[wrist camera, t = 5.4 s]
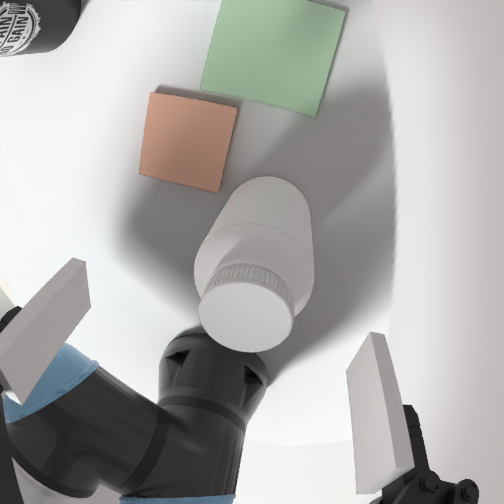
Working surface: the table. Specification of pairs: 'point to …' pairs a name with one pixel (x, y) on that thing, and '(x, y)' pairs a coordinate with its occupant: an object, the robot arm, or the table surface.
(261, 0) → the green pad
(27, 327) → the robot arm
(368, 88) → the table surface
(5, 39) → the water bottle
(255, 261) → the pill bottle
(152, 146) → the terracotta pad
